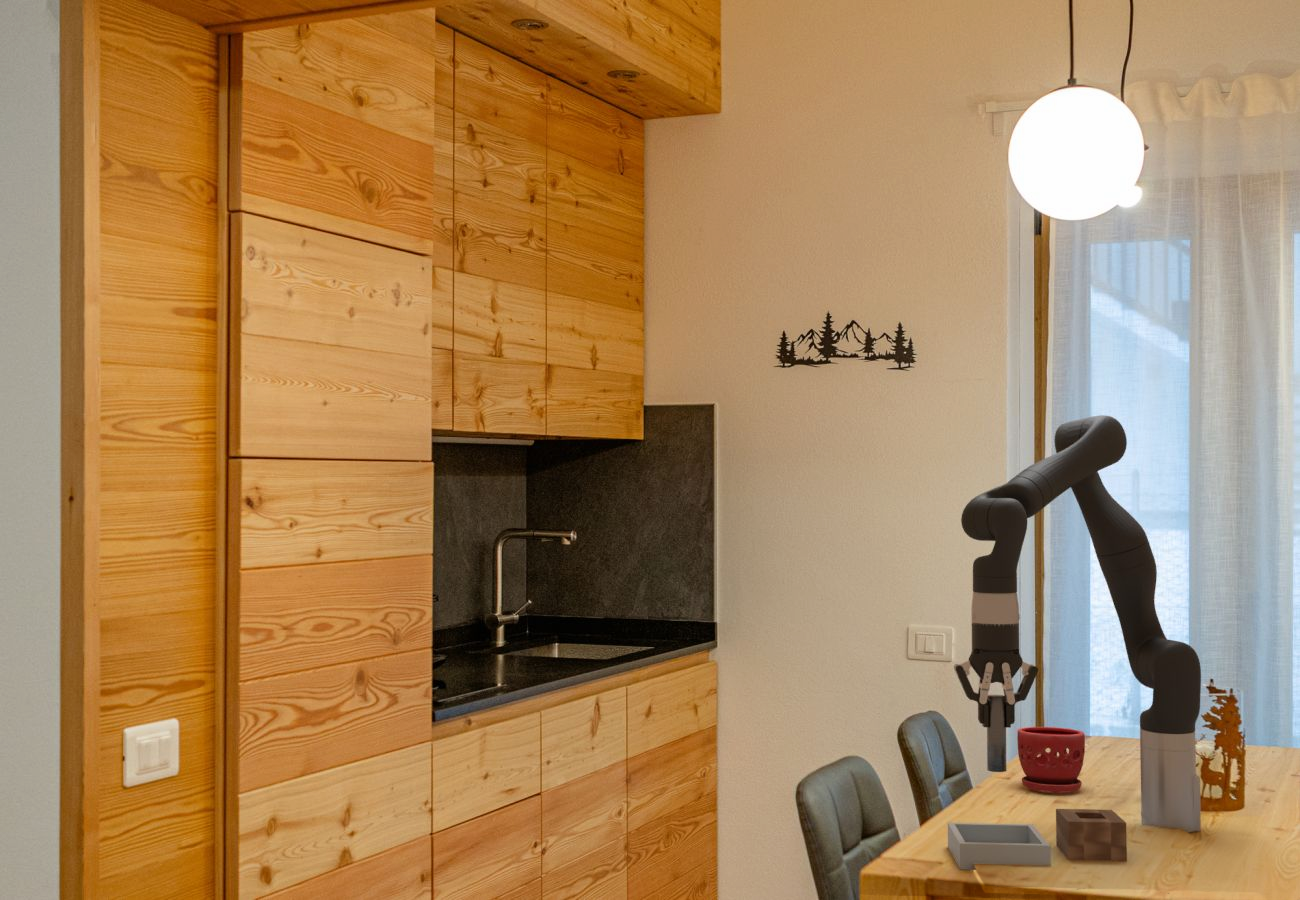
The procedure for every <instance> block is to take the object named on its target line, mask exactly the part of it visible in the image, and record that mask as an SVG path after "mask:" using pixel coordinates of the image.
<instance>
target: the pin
mask: <svg viewBox="0 0 1300 900" xmlns="http://www.w3.org/2000/svg"><path fill="white" fill-rule="evenodd" d="M987 704H988V722H989V726H988V727H986V749H987V750H986V751H987V752H986V756H987V757H986V761H987V763H986V764H987V771H988V772H993V773H1004V772H1007V728H1006V696H1004V694H988V697H987Z"/></svg>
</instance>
